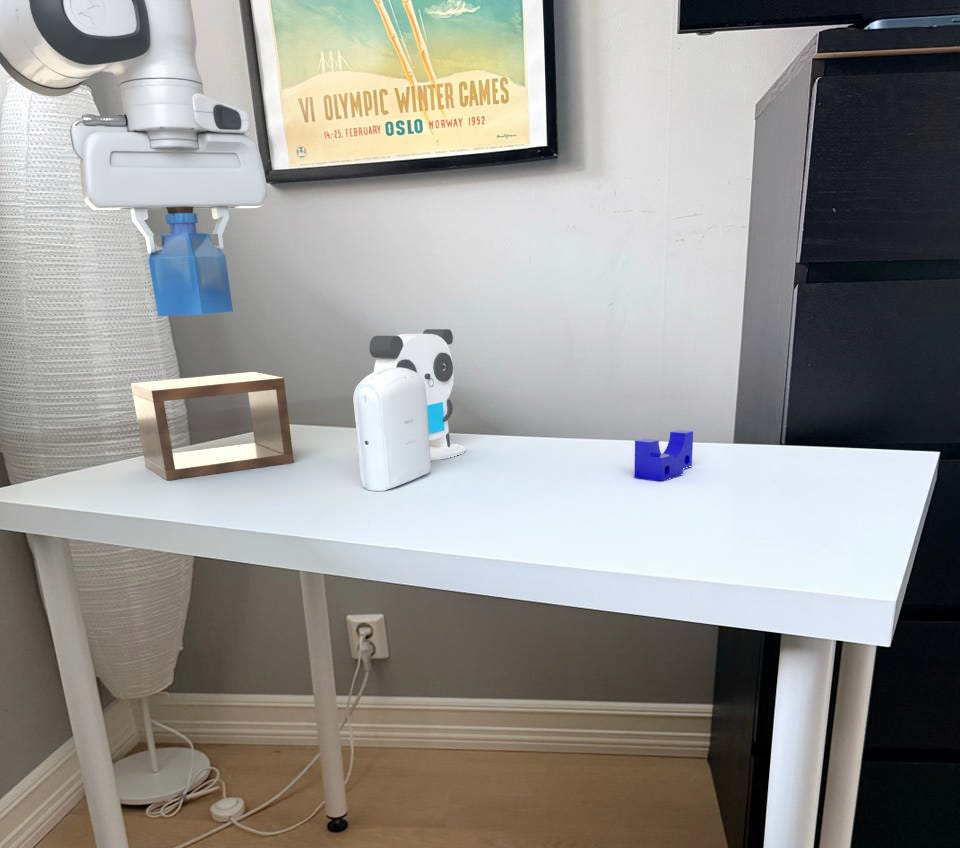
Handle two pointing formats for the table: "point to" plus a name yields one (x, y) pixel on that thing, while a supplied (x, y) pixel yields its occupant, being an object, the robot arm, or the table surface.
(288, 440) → the shelf rack
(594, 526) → the table surface
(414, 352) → the panda figurine
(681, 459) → the cable holder
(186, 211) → the perfume bottle
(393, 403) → the photo printer
